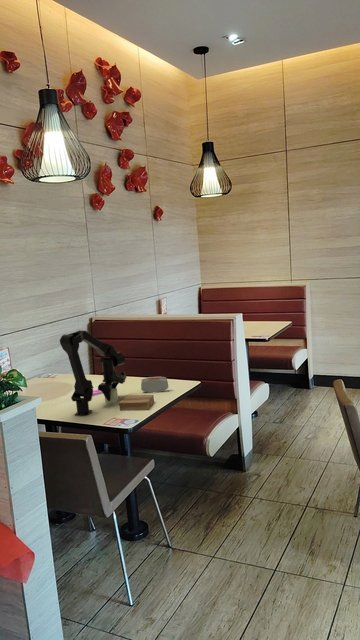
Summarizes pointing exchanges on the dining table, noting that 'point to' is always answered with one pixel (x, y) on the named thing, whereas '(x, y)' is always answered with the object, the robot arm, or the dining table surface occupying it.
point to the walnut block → (136, 402)
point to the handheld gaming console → (154, 384)
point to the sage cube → (112, 396)
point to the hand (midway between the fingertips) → (111, 398)
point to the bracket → (96, 392)
